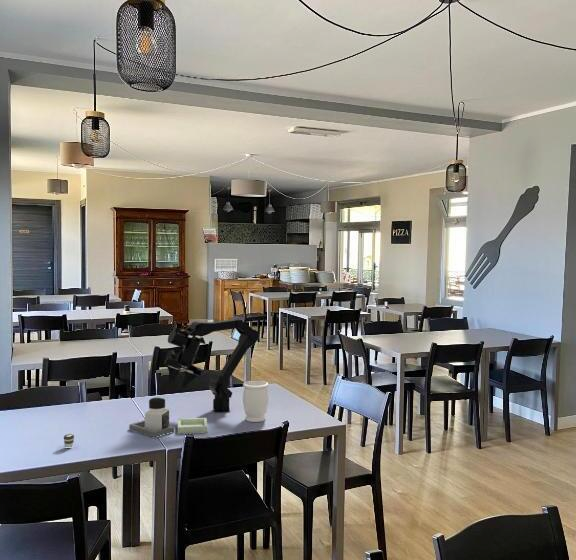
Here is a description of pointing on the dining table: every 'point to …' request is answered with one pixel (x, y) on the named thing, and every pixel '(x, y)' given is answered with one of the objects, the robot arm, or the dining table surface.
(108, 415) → the dining table surface
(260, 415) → the jar
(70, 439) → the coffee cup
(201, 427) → the tray
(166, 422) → the medicine bottle
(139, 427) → the holder
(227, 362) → the robot arm
